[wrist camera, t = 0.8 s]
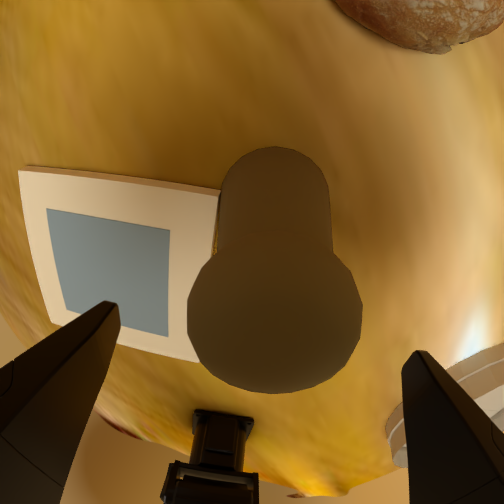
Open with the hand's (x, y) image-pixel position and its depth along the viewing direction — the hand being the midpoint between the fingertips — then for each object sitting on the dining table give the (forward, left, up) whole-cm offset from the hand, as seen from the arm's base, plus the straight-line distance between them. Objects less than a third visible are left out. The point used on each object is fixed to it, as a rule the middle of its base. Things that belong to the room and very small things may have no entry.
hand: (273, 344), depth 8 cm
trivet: (-7, +10, -10) cm, 16 cm away
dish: (-19, -30, -11) cm, 37 cm away
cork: (0, 0, -10) cm, 10 cm away
